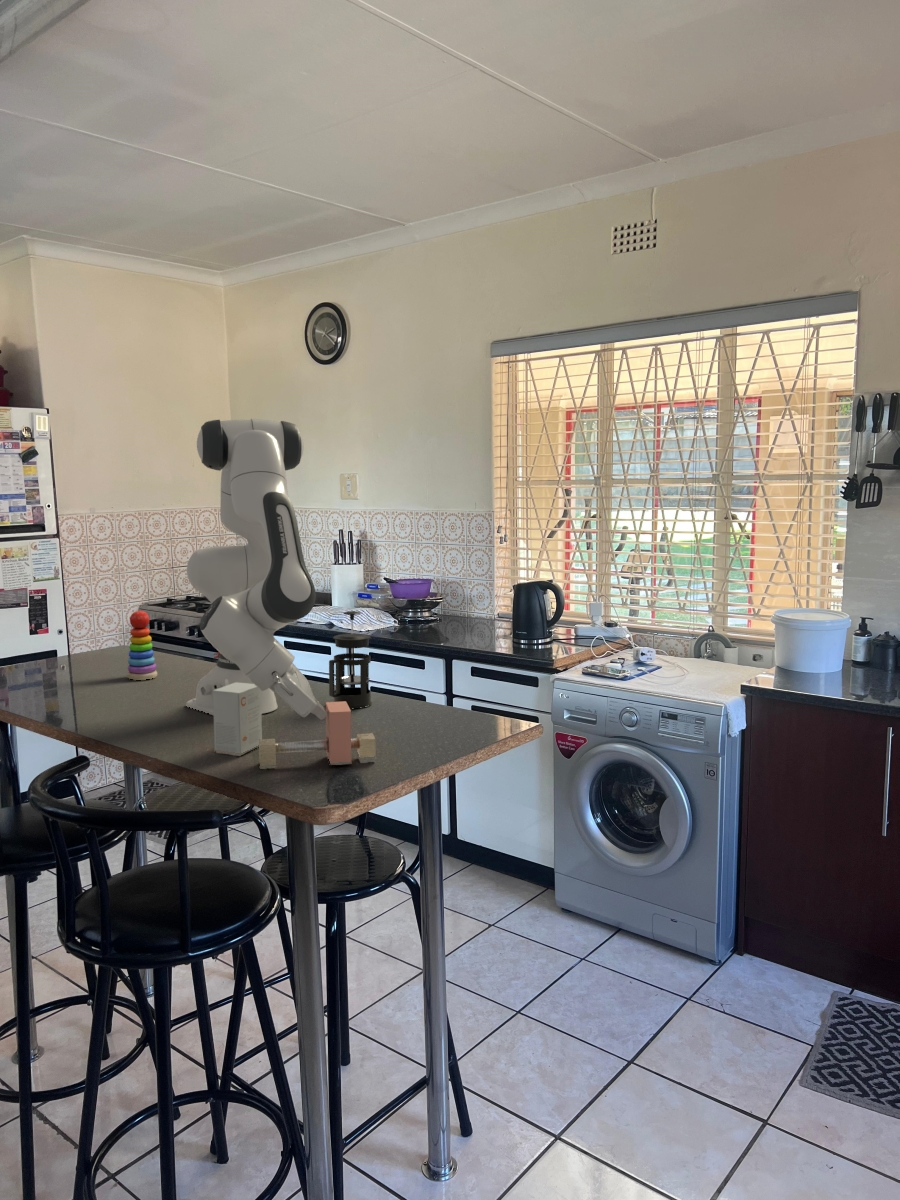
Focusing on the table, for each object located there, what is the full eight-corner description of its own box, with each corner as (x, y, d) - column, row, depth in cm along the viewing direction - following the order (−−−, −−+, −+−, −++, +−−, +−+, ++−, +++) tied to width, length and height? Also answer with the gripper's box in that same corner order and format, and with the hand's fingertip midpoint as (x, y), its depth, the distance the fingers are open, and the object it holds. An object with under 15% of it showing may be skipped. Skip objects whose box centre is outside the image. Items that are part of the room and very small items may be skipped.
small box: (236, 742, 187) (235, 681, 186) (263, 746, 185) (261, 684, 183) (213, 753, 180) (211, 689, 178) (240, 757, 178) (238, 692, 176)
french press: (357, 697, 227) (357, 607, 224) (381, 704, 221) (381, 611, 218) (319, 705, 219) (318, 611, 216) (343, 712, 213) (342, 616, 210)
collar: (330, 766, 171) (329, 712, 169) (326, 753, 179) (325, 702, 177) (351, 764, 172) (351, 711, 170) (346, 752, 179) (346, 701, 178)
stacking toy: (125, 676, 249) (123, 609, 247) (155, 674, 253) (153, 608, 250) (128, 682, 242) (125, 613, 240) (159, 679, 246) (157, 611, 243)
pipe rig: (259, 769, 170) (259, 745, 169) (259, 763, 174) (258, 739, 173) (375, 762, 175) (375, 738, 174) (372, 756, 179) (372, 733, 178)
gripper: (286, 666, 160) (342, 717, 164) (281, 646, 180) (330, 692, 183) (261, 692, 160) (317, 742, 163) (258, 669, 179) (308, 714, 183)
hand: (324, 715), depth 173 cm, fingers closed, pressing on collar
